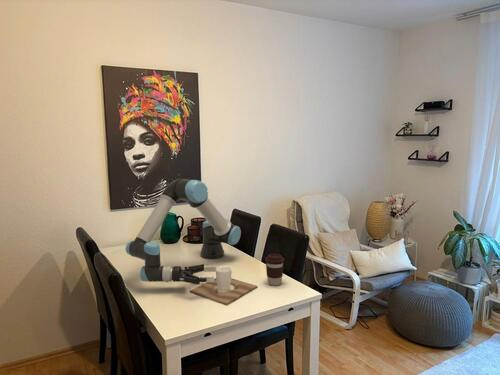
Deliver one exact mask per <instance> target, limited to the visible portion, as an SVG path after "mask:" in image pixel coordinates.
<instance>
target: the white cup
mask: <svg viewBox="0 0 500 375" xmlns="http://www.w3.org/2000/svg"><path fill="white" fill-rule="evenodd" d="M215 278H216V281H217V288H218V289H219V290H222V291H225V290H229V289H230V288H231V278H232V267H230V266H226V265H222V266H221V265H220V266H217V268H216V272H215Z"/></svg>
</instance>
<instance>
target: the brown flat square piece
mask: <svg viewBox="0 0 500 375" xmlns="http://www.w3.org/2000/svg"><path fill="white" fill-rule="evenodd" d="M256 289H258V285H257V284H256V285H255V284H252V283H248V282H247V281H246V282H245V281H242V280H239V279H236V278H232V277H231V288H230V289H229V290H225V291H222V290H219V289H218V288H217V281H216V277H214V282H203V283H202V284H201V285H200V284H199V285H198V286H196V287H194V288H192V289H190V290H189V293H191V294H193V295H196V296H198V297H202V298H203V299H204V298H205V299H208V300H210V301H212V302H216V303H219V304H222V305H225V306H229V305H231V304H232V303H234V302H236V301H238V300H240V299H241V298H243V297H244V296H246V295H247V294H249V293H251V292H253V291H254V290H256Z"/></svg>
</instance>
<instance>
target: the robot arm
mask: <svg viewBox="0 0 500 375" xmlns="http://www.w3.org/2000/svg"><path fill="white" fill-rule="evenodd" d="M208 194H209V191H208V187H207V184H205V182H203V181H201V180H197V179H186V178H177V179H174V180H173V181H171V182H170V183H169V184H168V185H167V186H166V187H165V188H164V190H163V191H162V192H161V194H160V196H159V197H160V199H159V200H158V201H157V204H156V205H155V207H154V208H153V209H152V212H151V213H150V215H149V216H148V217H147V220H146V221H145V223H144V224H143V226H142V227H141V229H140V230H139V232H138V233H137V235H136V237H135V239H134V240H131V241H129V242H128V243H127V244H126V245H125V252H126V254H127V255H128V256H131V257H133V258H138V259H140V260H143V261H144V266H142V267H141V269H140V272H139V273H140V274H139V276H140V280H141V281H143V282H150V283H151V282H153V283H154V282H156V283H158V282H162V283H163V282H164V283H170V282H171V283H172V282H175V283H177V282H178V283H179V282H180V283H181V282H183V283H189V284H193V285H200V284H201V283H206V282H214V279H215V277H214V276H215V275H214V276H210V275H209V276H208V275H207V276H206V275H205V276H203V275H202V276H197V275H194V274H197V273H201V272H204V273H206V272H207V273H209V272H210V273H213V272H215V273H216V268H217V267H218V266H217V265H205V264H204V263H202V264H197V265H191V266H184V268H183V269H182V266H180V265H178V266H177V265H175V266H173V265H161V247H160V243H159V242H158V241H157V242H156V241H152V240H153V238H154V236H155V235H156V234H157V232H158V230H160V227H161V225H162V224H163V222H164V220H165V219H166V217H167V216H168V214H169V212H170V211H171V209H172V208H173V206H175V205H176V204H177V203H178V202H179V201H185V202H186V203H187V204H188V205H189V206H190V207H191V208H192V209H196V210H197V211H198V212H199V213H200V214H201V216H203V218H204V219H205V220H204V221H203V222H202V246H201V251H200V257H201V258H202V259H206V260H216V259H217V260H218V259H221V258H223V257H224V256H225V250H224V248H223V243H224V244H227V245H230V246H231V245H232V246H234V245H237V243H238V242H239V241H240V238H241V234H242V231H241V228H240V227H239V226H237V225H234V224H233V223H232V222H231V221H230V220H229V219H227V218H225V217H224V216H223V215H222V213H221V212H220V211H219V210H218V208H217V207H216V205H214V204H213V203H212V201H211V199H209V195H208Z"/></svg>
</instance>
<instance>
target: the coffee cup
mask: <svg viewBox="0 0 500 375" xmlns="http://www.w3.org/2000/svg"><path fill="white" fill-rule="evenodd" d="M264 262H265V267H266V276H267V277H266V278H267V279H266V280H267V284H268V285H270V286H275V287H277V286H280V285H281V284H282V282H283V276H284V263H285V258H284V257H283V256H282V255H281V254H279V253H270V254H268V255H267V256H266V257H265V258H264Z"/></svg>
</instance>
